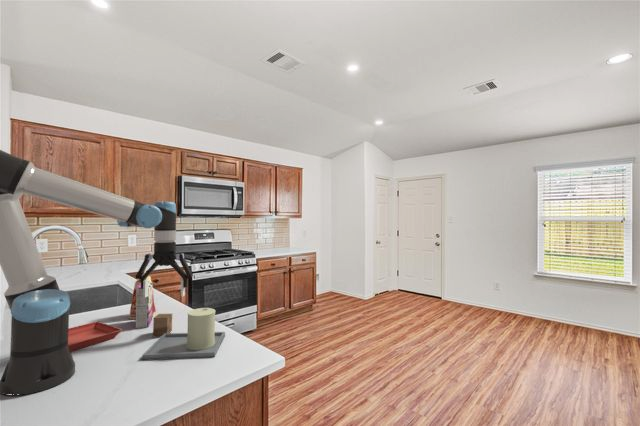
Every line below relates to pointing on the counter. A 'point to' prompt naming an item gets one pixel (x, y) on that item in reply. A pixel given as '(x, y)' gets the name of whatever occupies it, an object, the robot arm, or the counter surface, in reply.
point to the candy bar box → (143, 307)
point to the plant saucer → (90, 334)
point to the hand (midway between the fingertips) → (164, 296)
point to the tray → (180, 347)
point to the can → (201, 329)
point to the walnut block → (162, 324)
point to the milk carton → (133, 303)
